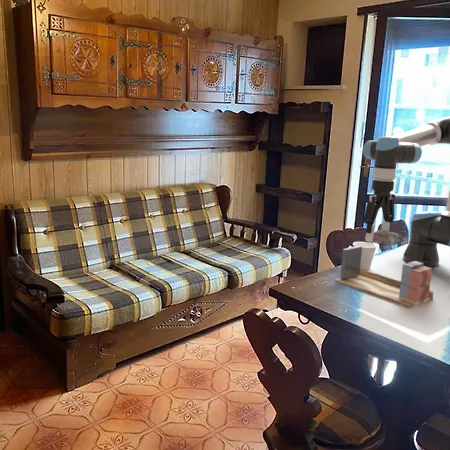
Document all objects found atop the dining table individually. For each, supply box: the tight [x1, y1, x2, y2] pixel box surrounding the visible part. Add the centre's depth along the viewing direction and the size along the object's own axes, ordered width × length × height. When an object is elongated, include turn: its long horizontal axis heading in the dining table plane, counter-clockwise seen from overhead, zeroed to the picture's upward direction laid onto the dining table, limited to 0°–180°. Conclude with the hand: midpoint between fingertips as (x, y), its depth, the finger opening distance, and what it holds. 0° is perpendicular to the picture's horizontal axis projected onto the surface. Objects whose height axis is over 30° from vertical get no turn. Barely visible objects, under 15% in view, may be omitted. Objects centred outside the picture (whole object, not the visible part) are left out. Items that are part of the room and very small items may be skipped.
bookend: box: [339, 246, 362, 280], centre depth 186 cm, size 10×2×12 cm, turn 128°
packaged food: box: [364, 229, 406, 246], centre depth 174 cm, size 9×12×5 cm
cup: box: [352, 241, 377, 271], centre depth 201 cm, size 10×10×11 cm
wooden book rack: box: [335, 261, 434, 309], centre depth 176 cm, size 15×32×13 cm, turn 38°
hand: (376, 240), depth 176 cm, fingers closed on packaged food, 9 cm apart
